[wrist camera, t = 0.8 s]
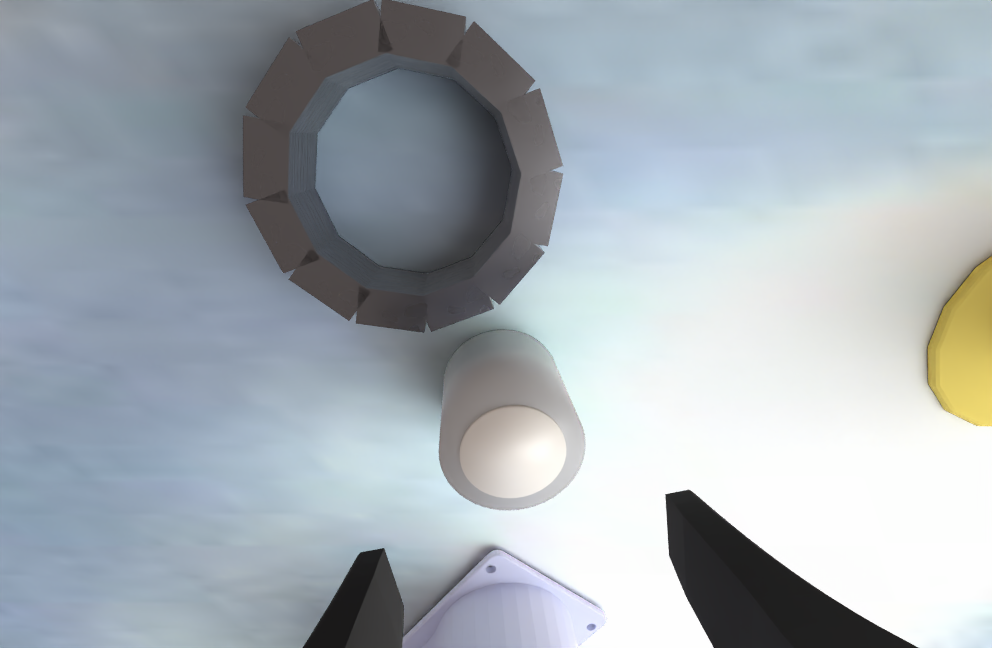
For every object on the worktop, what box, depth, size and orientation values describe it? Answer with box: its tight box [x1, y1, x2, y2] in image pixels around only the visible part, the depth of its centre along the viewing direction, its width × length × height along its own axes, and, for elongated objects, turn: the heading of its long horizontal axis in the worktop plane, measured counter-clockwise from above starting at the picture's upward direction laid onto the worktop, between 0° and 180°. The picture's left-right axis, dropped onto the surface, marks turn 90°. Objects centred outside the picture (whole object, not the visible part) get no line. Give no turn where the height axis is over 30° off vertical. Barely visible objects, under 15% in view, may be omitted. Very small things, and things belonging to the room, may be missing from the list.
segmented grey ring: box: [243, 0, 563, 333], centre depth 16 cm, size 10×10×3 cm
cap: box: [439, 330, 585, 510], centre depth 19 cm, size 5×5×5 cm
